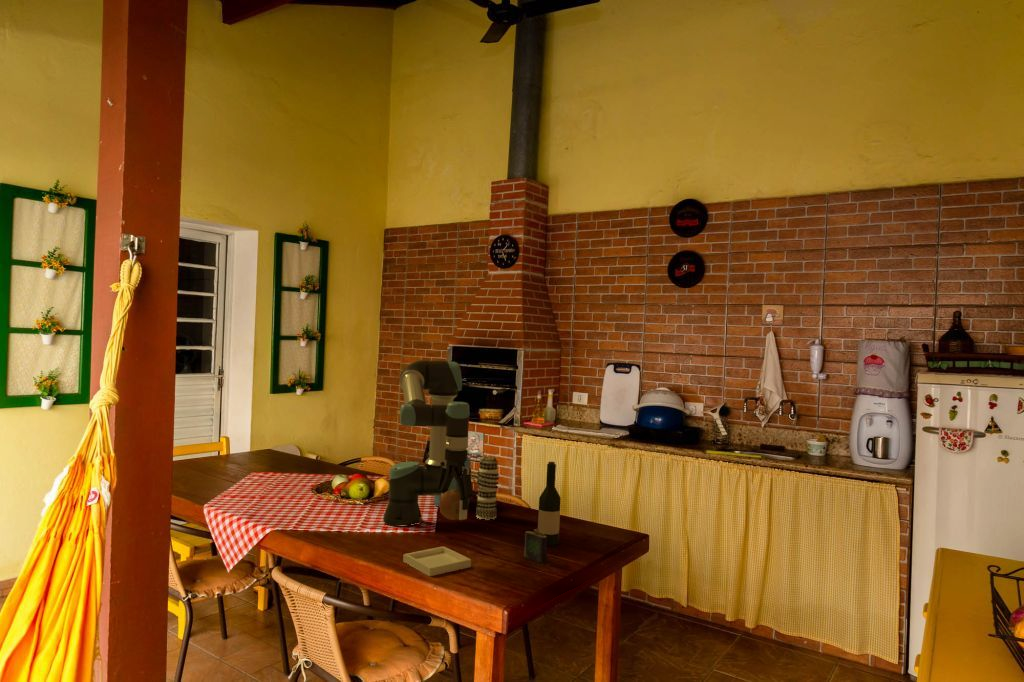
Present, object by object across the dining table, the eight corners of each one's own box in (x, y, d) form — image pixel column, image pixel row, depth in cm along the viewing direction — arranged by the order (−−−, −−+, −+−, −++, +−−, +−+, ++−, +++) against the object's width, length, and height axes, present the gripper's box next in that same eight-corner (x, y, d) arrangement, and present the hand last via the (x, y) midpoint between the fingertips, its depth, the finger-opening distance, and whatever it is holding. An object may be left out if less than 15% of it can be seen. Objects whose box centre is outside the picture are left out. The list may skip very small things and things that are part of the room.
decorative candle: (472, 519, 282) (475, 458, 282) (477, 513, 292) (480, 454, 291) (494, 521, 281) (497, 460, 281) (499, 515, 290) (501, 456, 290)
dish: (403, 561, 227) (403, 554, 227) (443, 553, 238) (443, 546, 238) (429, 576, 215) (429, 568, 215) (470, 566, 225) (471, 559, 225)
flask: (522, 557, 238) (524, 526, 237) (528, 555, 240) (529, 525, 240) (542, 564, 231) (544, 532, 231) (548, 562, 234) (550, 531, 233)
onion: (459, 513, 236) (461, 484, 236) (473, 521, 227) (474, 491, 227) (433, 516, 231) (435, 487, 231) (446, 524, 222) (447, 493, 222)
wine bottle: (562, 542, 257) (566, 462, 257) (552, 547, 250) (556, 465, 250) (543, 537, 261) (546, 459, 261) (532, 543, 254) (536, 462, 254)
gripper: (427, 444, 235) (424, 509, 235) (468, 455, 218) (465, 525, 218) (445, 442, 240) (442, 506, 240) (486, 453, 223) (483, 521, 223)
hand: (453, 515), depth 229 cm, fingers closed on onion, 10 cm apart
